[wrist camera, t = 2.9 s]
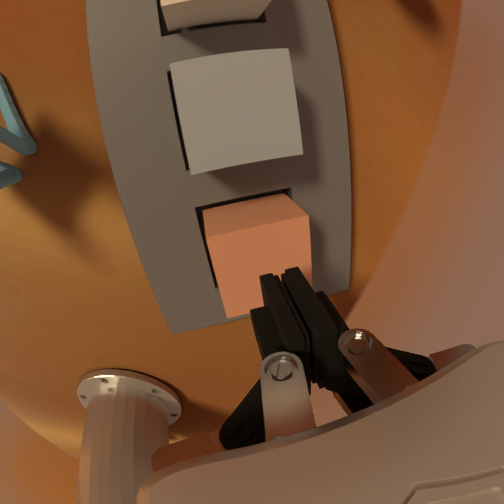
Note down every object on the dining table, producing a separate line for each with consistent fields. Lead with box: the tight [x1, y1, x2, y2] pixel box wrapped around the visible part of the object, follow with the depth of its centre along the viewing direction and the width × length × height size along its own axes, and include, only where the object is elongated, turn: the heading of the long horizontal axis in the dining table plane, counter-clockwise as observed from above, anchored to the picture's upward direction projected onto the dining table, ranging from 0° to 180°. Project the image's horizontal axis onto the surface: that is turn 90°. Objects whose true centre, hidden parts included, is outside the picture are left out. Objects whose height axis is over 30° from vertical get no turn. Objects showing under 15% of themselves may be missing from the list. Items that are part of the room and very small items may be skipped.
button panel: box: [86, 0, 351, 334], centre depth 15 cm, size 28×14×3 cm, turn 9°
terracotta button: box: [203, 193, 312, 318], centre depth 16 cm, size 5×5×4 cm
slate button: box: [170, 48, 303, 175], centre depth 12 cm, size 5×5×4 cm
